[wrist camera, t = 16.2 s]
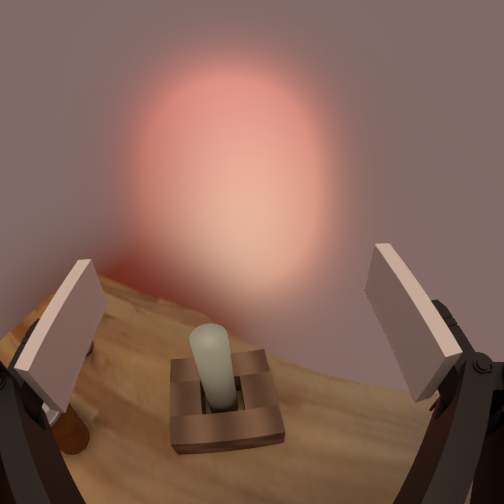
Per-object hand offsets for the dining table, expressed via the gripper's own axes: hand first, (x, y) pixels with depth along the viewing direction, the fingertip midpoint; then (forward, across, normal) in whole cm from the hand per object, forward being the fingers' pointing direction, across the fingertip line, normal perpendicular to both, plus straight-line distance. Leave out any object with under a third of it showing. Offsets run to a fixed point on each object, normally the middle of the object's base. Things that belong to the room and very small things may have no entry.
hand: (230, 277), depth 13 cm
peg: (+10, -4, -31) cm, 33 cm away
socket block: (+10, -4, -31) cm, 33 cm away
